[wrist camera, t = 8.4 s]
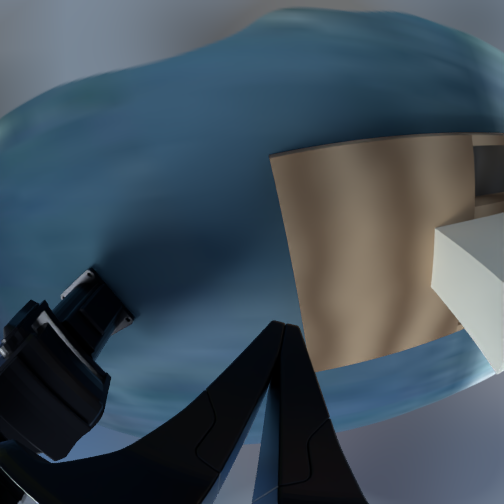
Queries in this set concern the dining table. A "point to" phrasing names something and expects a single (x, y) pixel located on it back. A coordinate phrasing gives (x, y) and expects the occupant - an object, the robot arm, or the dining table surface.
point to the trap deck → (379, 235)
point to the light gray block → (474, 280)
